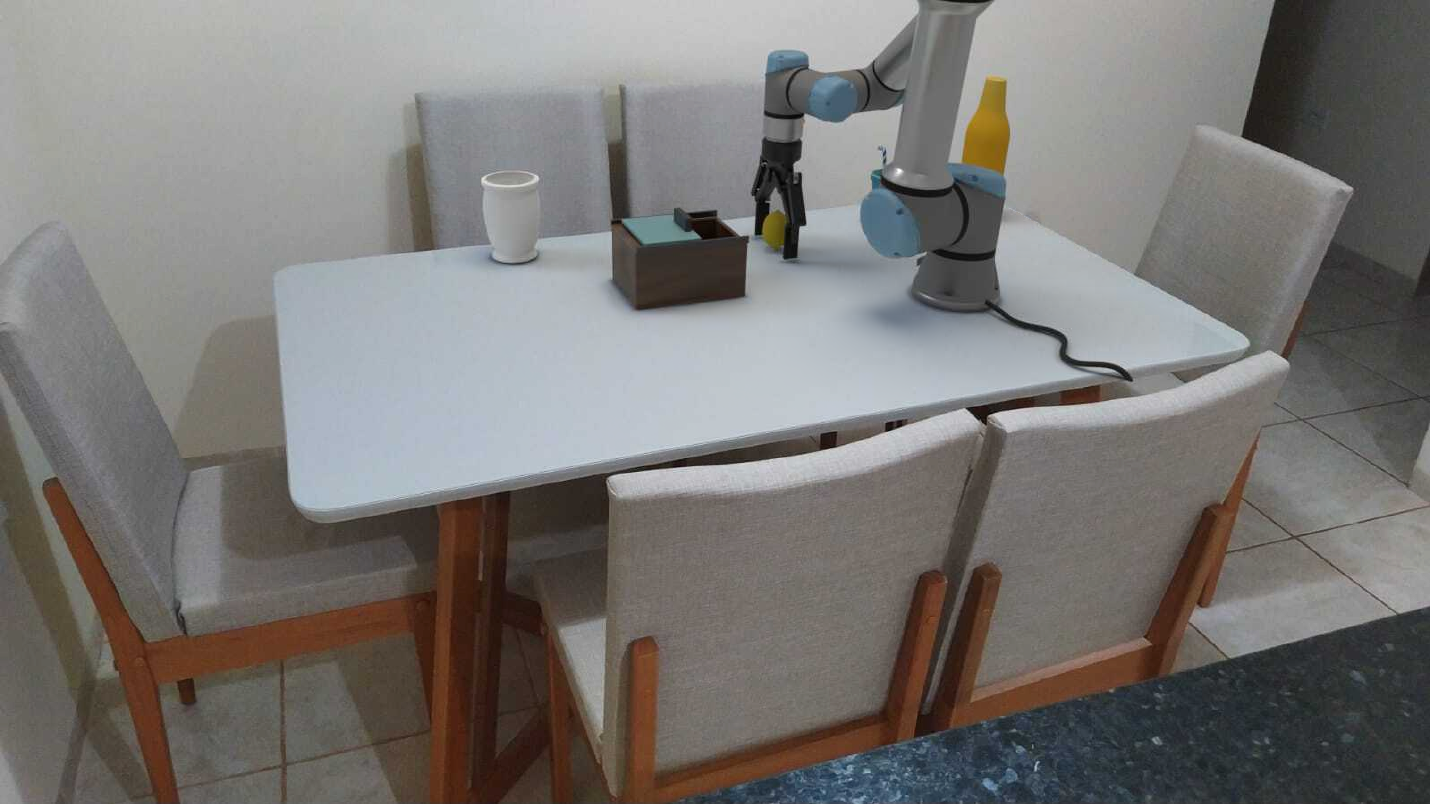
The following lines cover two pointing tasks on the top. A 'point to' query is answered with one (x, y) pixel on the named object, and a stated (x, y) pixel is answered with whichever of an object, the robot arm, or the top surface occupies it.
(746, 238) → the chest
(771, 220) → the lemon
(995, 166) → the beer bottle
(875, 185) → the cup
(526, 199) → the jar
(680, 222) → the teal box lid
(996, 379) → the top surface
